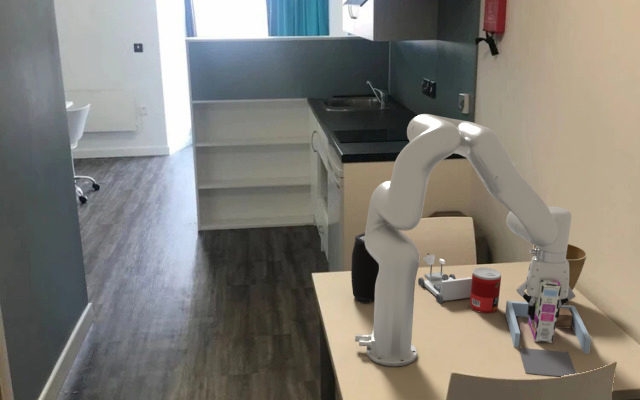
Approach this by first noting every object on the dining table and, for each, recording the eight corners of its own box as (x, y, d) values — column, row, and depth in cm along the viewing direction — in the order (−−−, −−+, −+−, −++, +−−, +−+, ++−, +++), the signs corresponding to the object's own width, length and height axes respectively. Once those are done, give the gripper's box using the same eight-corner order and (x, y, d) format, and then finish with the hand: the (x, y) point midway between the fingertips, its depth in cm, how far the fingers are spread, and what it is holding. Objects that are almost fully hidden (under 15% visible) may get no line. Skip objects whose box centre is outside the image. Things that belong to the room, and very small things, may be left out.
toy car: (415, 252, 204) (449, 249, 207) (414, 281, 207) (447, 277, 210) (442, 274, 188) (478, 270, 191) (440, 305, 190) (475, 301, 194)
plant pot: (551, 314, 185) (558, 262, 180) (516, 294, 198) (522, 244, 193) (591, 306, 191) (598, 255, 186) (554, 286, 204) (560, 238, 199)
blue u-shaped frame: (513, 347, 167) (515, 332, 166) (505, 313, 185) (506, 300, 184) (589, 353, 164) (591, 339, 163) (572, 318, 183) (574, 305, 181)
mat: (525, 373, 155) (525, 372, 155) (519, 348, 166) (519, 347, 166) (578, 378, 153) (578, 377, 153) (568, 352, 165) (568, 351, 165)
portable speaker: (386, 302, 191) (389, 240, 185) (355, 306, 189) (357, 242, 183) (376, 290, 199) (379, 230, 193) (347, 293, 196) (348, 232, 191)
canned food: (498, 314, 184) (502, 279, 181) (469, 312, 186) (472, 276, 183) (497, 303, 192) (500, 268, 188) (469, 300, 193) (472, 266, 190)
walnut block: (555, 327, 178) (557, 314, 177) (551, 320, 182) (553, 307, 180) (570, 328, 177) (572, 315, 176) (566, 321, 181) (568, 308, 180)
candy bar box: (554, 344, 169) (562, 285, 164) (534, 342, 169) (541, 284, 165) (546, 324, 179) (553, 268, 175) (527, 322, 180) (534, 267, 175)
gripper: (518, 257, 166) (511, 322, 171) (588, 262, 163) (579, 328, 168) (514, 247, 173) (507, 309, 178) (581, 251, 170) (572, 315, 175)
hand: (542, 317), depth 173 cm, fingers closed on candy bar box, 5 cm apart
